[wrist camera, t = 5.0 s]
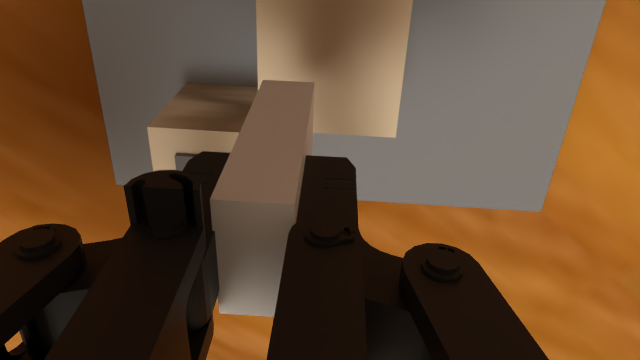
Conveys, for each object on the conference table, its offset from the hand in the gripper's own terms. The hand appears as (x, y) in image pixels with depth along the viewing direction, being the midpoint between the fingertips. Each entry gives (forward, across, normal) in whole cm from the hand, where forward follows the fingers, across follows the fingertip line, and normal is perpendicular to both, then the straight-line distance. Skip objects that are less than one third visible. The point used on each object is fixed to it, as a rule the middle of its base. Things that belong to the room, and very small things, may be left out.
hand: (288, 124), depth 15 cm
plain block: (+12, +1, 0) cm, 12 cm away
